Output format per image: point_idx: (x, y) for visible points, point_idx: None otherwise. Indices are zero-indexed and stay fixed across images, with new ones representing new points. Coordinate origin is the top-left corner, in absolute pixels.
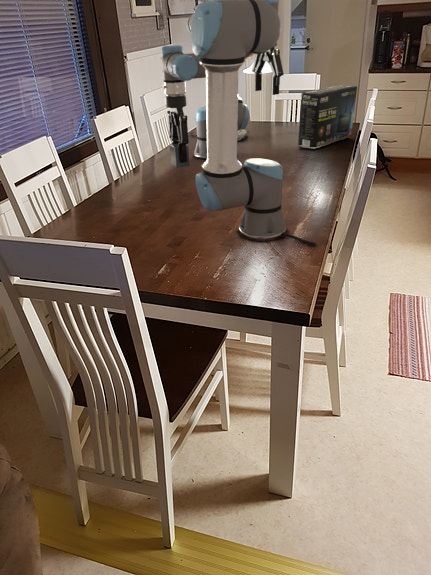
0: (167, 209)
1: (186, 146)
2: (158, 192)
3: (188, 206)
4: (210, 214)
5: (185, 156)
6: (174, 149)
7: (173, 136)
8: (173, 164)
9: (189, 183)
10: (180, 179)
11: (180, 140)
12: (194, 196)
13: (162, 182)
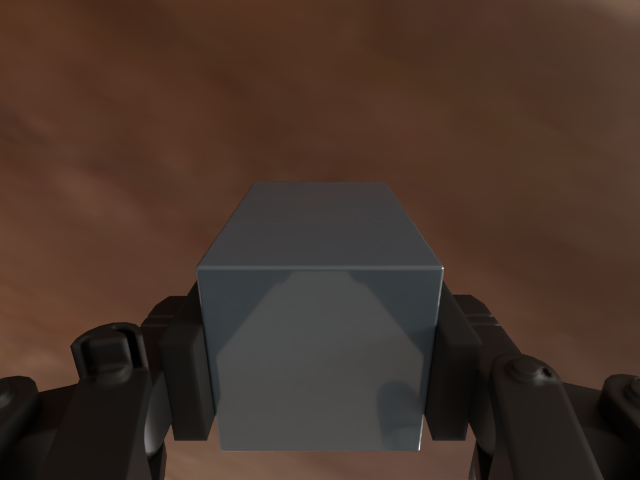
0: (162, 13)
1: (217, 419)
2: (468, 80)
3: (160, 143)
4: (11, 193)
5: None
6: (232, 249)
7: (499, 440)
8: (328, 185)
9: (484, 286)
10: (576, 273)
11: (66, 429)
12: None
13: (611, 171)
